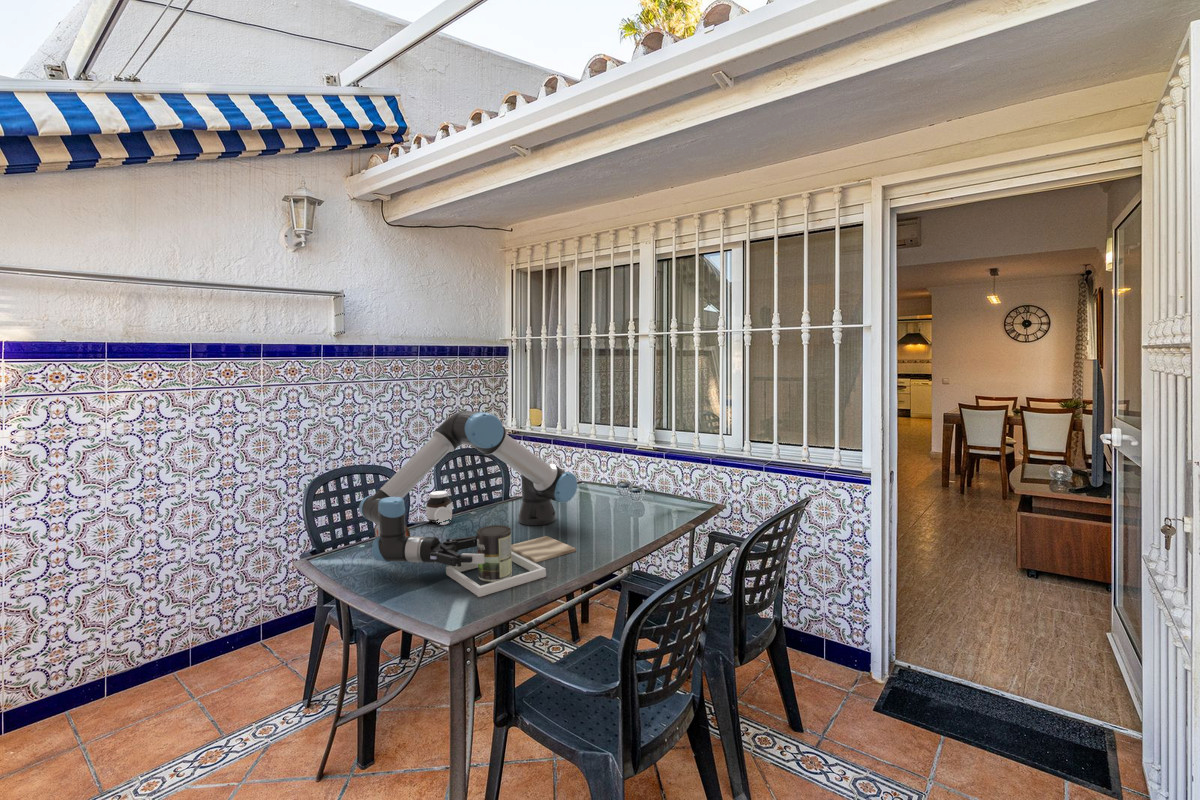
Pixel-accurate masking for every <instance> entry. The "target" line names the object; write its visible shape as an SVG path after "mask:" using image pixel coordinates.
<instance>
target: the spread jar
mask: <svg viewBox="0 0 1200 800" xmlns="http://www.w3.org/2000/svg"><path fill="white" fill-rule="evenodd" d="M425 506H426V507H425V511H426V512H425V513H426V519H427V520H428V521H429V522H430V523H432V524H438V523H439V522H442V523H440V524H439V525H441V526H445V525H447V524H449V523H450V522H449V521H446V522H443V521H445V520H448V519H450V520H451V521H452V518H453V504H452V500H451V498H450V497H449V496H448V491H446V490H437V491H432V492H430V493H429V499H428V500H427V502H426V505H425ZM437 519H439V520H438V521H435V520H437ZM431 521H435V522H431ZM437 522H438V523H437Z"/></svg>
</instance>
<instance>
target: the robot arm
mask: <svg viewBox="0 0 1200 800" xmlns="http://www.w3.org/2000/svg"><path fill="white" fill-rule="evenodd" d="M462 445H467V446H471V447H473V448H475V449H476V450H477V451H478V452H480V453H482V454H483V455H485V456H490V455H492V456H494V457H496V458H497V459H499V460H500V461H501V462H503V463H505V464H506V465H508V466H509V467H510V468H512V470H513V469H514V471H516V472H517V473H519V474H520V477H521V479H520V481H521V505H520V509H519V513H518V515H517V516H518V520H517V521H518V523H519V524H521V525H525V526H544V525H548V524H552V523H554V522H555V521H556V520H557V514H556V511H555V508H554V505H553V503H552V501H554V502H558V503H568V502H569V501H571V500H572V499H573V498H574V497H575V495H576V493H577V490H578V479H577V477H576V475H575V474H574V473H572V472H570V471H565V470H563V469H562V468H560V467H559V466H557V464H555V463H553V462H546V461H544V460H542V458H540V457H539V456H537V455H536V454H535V453H533V452H532V451H530V449H527V448H526V447H525V446H524V445H522V444H520V443H519V442H518V441H516V440H515V439H514V438H513V437H511V436H509V435H508V434H507V429H506V427H505V426H504V425H503V422H502V421H501V419H499V417H497V416H496V415H494V414H492V413H490V412H485V411H470V410H460V411H458V412H456V413H454V414H452V415H450V416H449V417H448V418H447V419H445V421H444V422H442V423H441V424H440V425H439V426H437V428H436V429H435V430H434V431H433V432H432V437H431V438H430V439H429V440H428V441H427V442H426V443H425V444H424V445H423V446H422V447H421V448H420V449H419V450H418V451H417V452H415V454H414V455H413V456H412V457H410V459H409V460H408V461H406V463H405V464H404V465H402V466H401V468H400V469H399V470H397V472H396V473H395V474H394V475H392V477H391V478H390V479H389V480H387V482H386V483H384V484H383V485H382V487H380V488H379V490H377V491H376V492H375V493H374V494H373V495H368V496H365V497H364V498H362V500H360V503H359V506H358V510H359V514H360V515H361V516H362V517H364V519H366V520H368V521H370V522H372V523H375V525H376V524H378V525H379V527H380V536H378V537H375V538H374V540H373V542H372V543H371V545H372V547H371V556H372V557H373V559H374V560H375V561H380V562H387V563H390V562H395V563H398V562H401V563H402V562H404V563H405V562H406V563H414V564H417V563H422V562H423V563H439V564H444V565H446V566H449V565H450V566H457V567H460V566H461V563H471V564H484V563H485V562H484V554H478V553H469V552H467V553H461V554H460V553H458V552H459V551H461V550H466V549H470V548H475V547H477V549H478V545H477V534H475V535H472V536H463V537H458V538H447V539H446V541H443V542H441V541H440V539H439V538H438V537H436V536H410V537H407V536H406V530H405V525H406V507H405V500H404V498H405V497H406V495H408V494H409V493H410V492H411V491H412V490H413V488H415V487H416V486H417V484H419V482H421V481H422V480H423V478H424V477H426V475H427V474H428V473H429V472H430V471H432V470H433V468H434V467H435V466H436V465H437V464H439V462H440V461H441V460H442V459H443V458H444V457H445V456H446V455H447V454H448V453H449V452H453V453H454V451H455V450H456V449H457V448H459V447H460V446H462Z"/></svg>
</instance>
